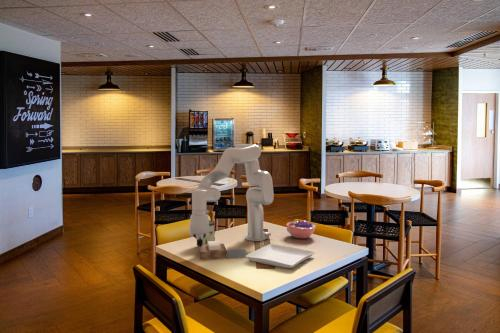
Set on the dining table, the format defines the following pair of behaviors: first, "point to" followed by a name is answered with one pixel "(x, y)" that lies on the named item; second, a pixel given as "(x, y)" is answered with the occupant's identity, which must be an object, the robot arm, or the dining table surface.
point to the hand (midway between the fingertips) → (199, 246)
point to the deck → (212, 252)
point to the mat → (237, 253)
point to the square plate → (280, 255)
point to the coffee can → (212, 233)
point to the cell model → (300, 229)
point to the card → (214, 245)
